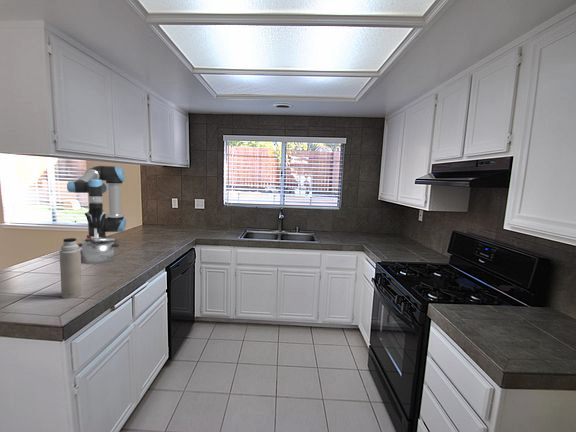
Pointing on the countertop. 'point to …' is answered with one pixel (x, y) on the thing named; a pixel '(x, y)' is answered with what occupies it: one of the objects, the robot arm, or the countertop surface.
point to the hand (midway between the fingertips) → (96, 237)
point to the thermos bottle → (70, 269)
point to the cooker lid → (97, 239)
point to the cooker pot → (98, 251)
